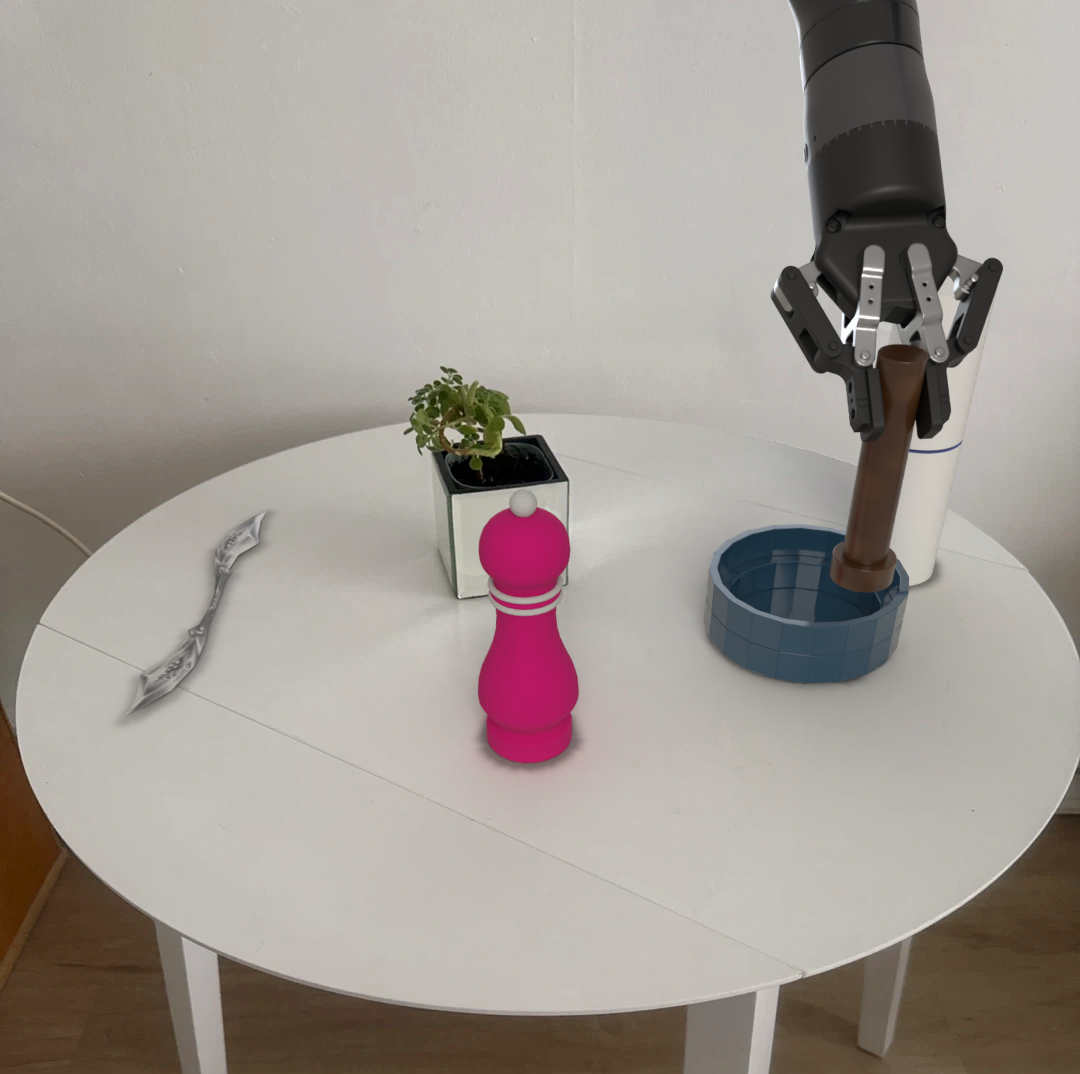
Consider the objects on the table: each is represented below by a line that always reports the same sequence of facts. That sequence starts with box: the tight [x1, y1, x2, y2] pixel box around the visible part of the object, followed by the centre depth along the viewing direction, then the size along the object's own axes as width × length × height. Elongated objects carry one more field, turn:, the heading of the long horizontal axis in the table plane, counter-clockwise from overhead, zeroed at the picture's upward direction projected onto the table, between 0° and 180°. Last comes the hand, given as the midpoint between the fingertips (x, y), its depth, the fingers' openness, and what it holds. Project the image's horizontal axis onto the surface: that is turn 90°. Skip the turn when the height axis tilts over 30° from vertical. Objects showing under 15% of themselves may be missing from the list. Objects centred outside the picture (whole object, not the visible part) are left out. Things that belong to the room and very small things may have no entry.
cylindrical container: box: [887, 276, 999, 587], centre depth 96 cm, size 7×7×25 cm
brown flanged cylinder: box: [830, 344, 928, 592], centre depth 70 cm, size 4×4×15 cm
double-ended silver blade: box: [125, 510, 267, 715], centre depth 100 cm, size 32×1×5 cm
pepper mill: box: [477, 488, 580, 764], centre depth 79 cm, size 7×7×20 cm
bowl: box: [703, 523, 910, 685], centre depth 93 cm, size 15×15×6 cm
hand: (902, 434), depth 67 cm, fingers closed on brown flanged cylinder, 3 cm apart
